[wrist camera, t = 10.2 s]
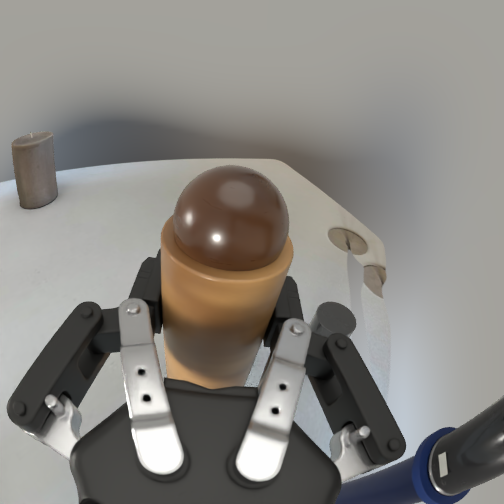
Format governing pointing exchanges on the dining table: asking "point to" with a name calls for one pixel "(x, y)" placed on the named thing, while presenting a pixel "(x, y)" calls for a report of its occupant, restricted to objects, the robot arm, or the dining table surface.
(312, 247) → the dining table surface
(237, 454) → the robot arm
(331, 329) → the dark grey upright cylinder
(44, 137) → the pillar candle
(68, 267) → the dining table surface
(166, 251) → the pepper mill
